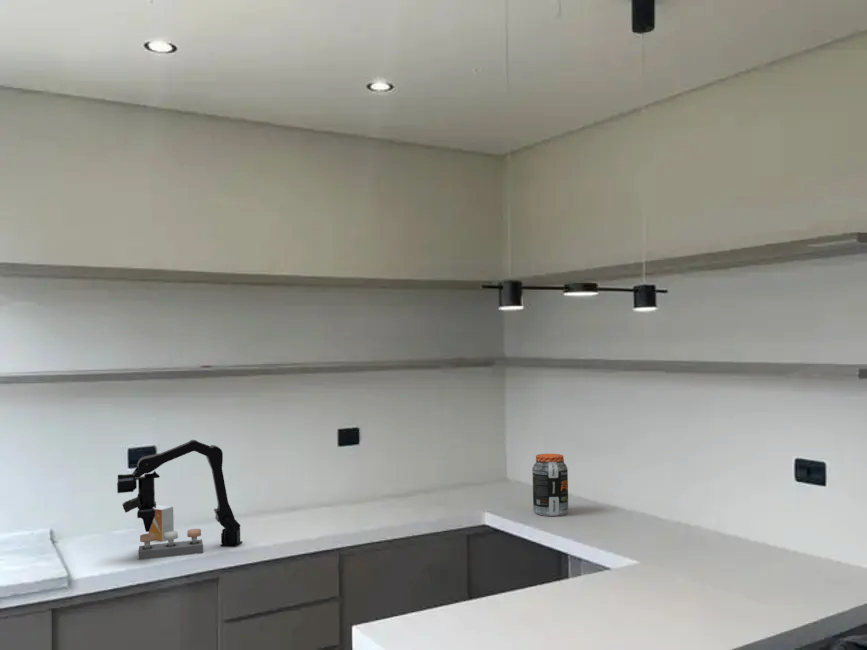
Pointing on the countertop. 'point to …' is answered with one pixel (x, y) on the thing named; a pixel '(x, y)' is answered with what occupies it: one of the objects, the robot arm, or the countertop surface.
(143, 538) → the knob
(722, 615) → the countertop surface
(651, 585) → the countertop surface
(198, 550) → the knob strip
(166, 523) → the small box
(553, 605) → the countertop surface
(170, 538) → the knob middle
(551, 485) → the supplement tub
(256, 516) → the countertop surface
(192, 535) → the knob
